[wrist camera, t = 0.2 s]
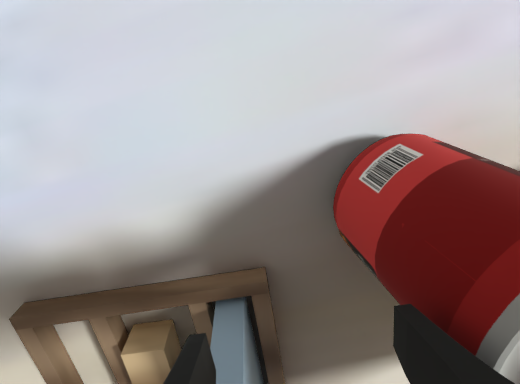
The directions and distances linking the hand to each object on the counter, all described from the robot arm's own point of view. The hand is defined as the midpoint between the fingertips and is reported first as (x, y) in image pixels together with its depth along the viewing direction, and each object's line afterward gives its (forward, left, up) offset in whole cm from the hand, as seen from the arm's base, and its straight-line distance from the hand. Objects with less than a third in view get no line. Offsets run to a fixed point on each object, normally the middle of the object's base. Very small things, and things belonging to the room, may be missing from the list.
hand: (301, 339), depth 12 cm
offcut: (-11, +11, -10) cm, 19 cm away
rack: (-11, +10, -10) cm, 18 cm away
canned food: (+1, -7, -9) cm, 12 cm away
